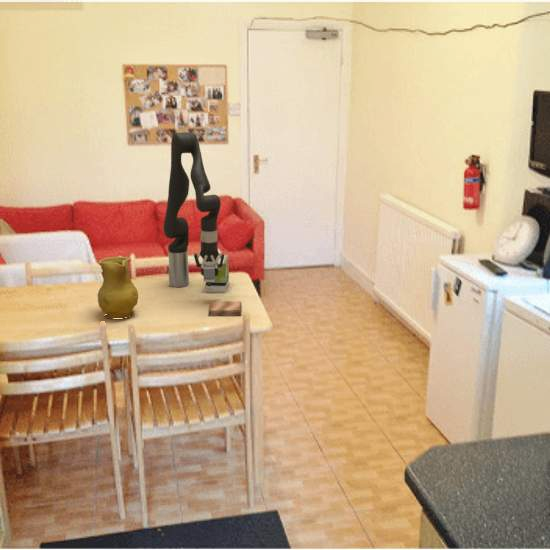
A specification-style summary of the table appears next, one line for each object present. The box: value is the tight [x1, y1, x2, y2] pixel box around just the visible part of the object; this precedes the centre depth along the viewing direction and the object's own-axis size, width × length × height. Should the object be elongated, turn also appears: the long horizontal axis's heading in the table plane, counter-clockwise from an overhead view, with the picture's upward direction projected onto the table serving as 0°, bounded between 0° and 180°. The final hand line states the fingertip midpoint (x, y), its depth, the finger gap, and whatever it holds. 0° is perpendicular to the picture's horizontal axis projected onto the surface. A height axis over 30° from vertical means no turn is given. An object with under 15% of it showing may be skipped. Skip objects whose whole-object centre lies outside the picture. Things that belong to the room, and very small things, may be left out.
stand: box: [208, 300, 242, 317], centre depth 299 cm, size 14×12×2 cm
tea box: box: [205, 254, 230, 294], centre depth 326 cm, size 15×10×15 cm, turn 179°
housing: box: [203, 261, 216, 283], centre depth 306 cm, size 5×8×7 cm, turn 1°
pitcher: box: [97, 256, 139, 319], centre depth 292 cm, size 17×19×25 cm
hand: (209, 275), depth 306 cm, fingers closed on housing, 5 cm apart
